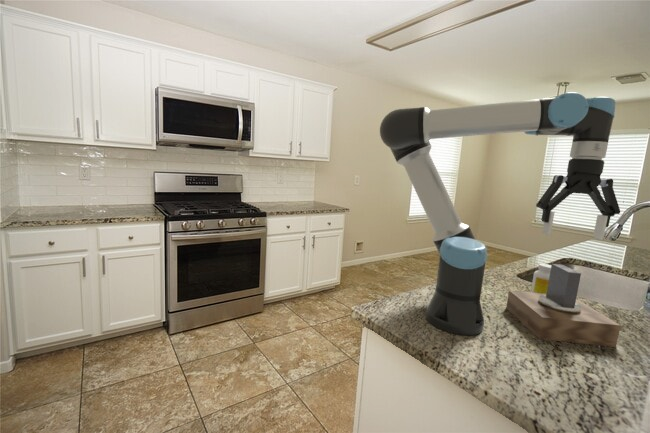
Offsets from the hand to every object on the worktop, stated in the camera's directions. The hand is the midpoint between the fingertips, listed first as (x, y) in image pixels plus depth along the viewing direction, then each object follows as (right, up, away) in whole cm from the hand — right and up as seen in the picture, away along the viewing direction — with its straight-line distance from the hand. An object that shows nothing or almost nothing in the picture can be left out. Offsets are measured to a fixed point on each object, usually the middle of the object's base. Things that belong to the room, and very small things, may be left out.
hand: (571, 236), depth 90 cm
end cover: (-2, -25, +4) cm, 25 cm away
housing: (-2, -26, +4) cm, 26 cm away
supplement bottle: (+6, -24, +22) cm, 33 cm away
